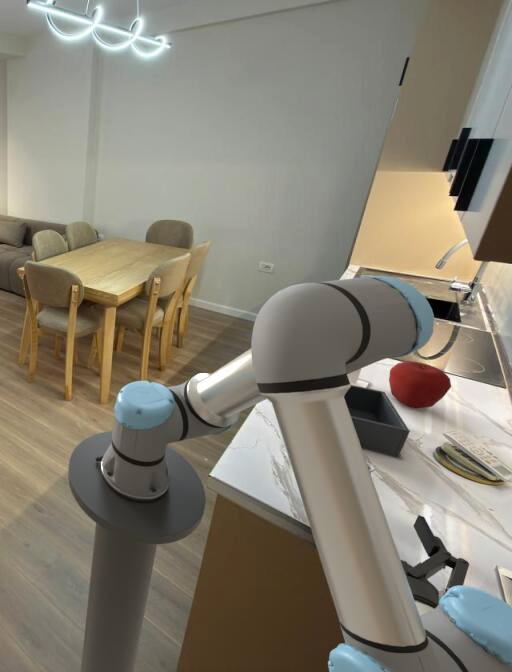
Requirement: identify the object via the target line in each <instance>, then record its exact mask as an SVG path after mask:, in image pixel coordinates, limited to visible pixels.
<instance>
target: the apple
mask: <svg viewBox="0 0 512 672" xmlns="http://www.w3.org/2000/svg"><path fill="white" fill-rule="evenodd" d="M388 382H389V389H390V393H391V395H392V396H393V397H394V399H396V401H397V402H398V403H400V404H401V405H403V406H405V407H408V408H411V409H416V410H418V409H425V408H430V407H433V406H435V405H436V404H437V403H438V402H439V401H441V400H442V399H443V398H444V397H445V396H446V394H447V393H448V392H449V391H450V389H451V388H452V383H451V378H450V377H449V376H448V375H447V373H445V372H444V371H443V370H441V369H440V368H437V367H435V366H433V365H431V364H426V363H423V362H418V361H415V360H413V361H412V360H407V361H402V362H398V363H396V364H395V365H393V366H392V367H391V368H390V370H389V377H388Z"/></svg>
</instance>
